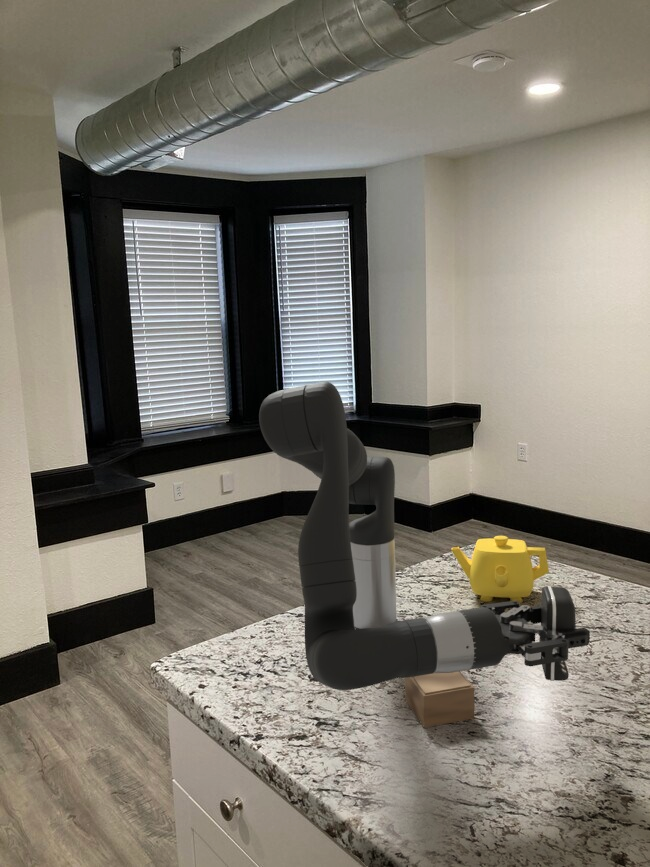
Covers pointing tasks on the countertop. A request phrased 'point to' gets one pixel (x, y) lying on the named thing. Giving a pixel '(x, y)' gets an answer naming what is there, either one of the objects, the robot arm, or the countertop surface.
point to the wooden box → (440, 698)
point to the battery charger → (557, 624)
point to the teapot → (502, 568)
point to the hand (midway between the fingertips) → (570, 623)
